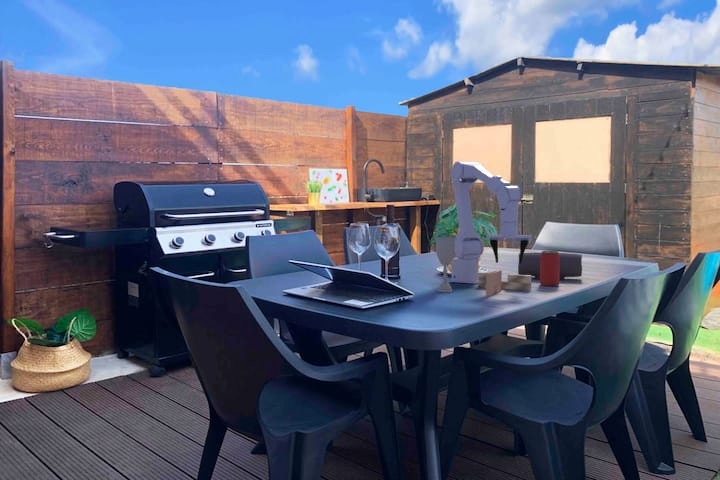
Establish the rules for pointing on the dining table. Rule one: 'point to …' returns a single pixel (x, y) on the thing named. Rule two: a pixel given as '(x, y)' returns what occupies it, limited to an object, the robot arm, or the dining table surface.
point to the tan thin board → (493, 282)
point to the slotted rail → (509, 281)
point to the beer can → (549, 268)
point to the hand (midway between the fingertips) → (508, 262)
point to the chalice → (445, 258)
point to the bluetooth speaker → (568, 265)
